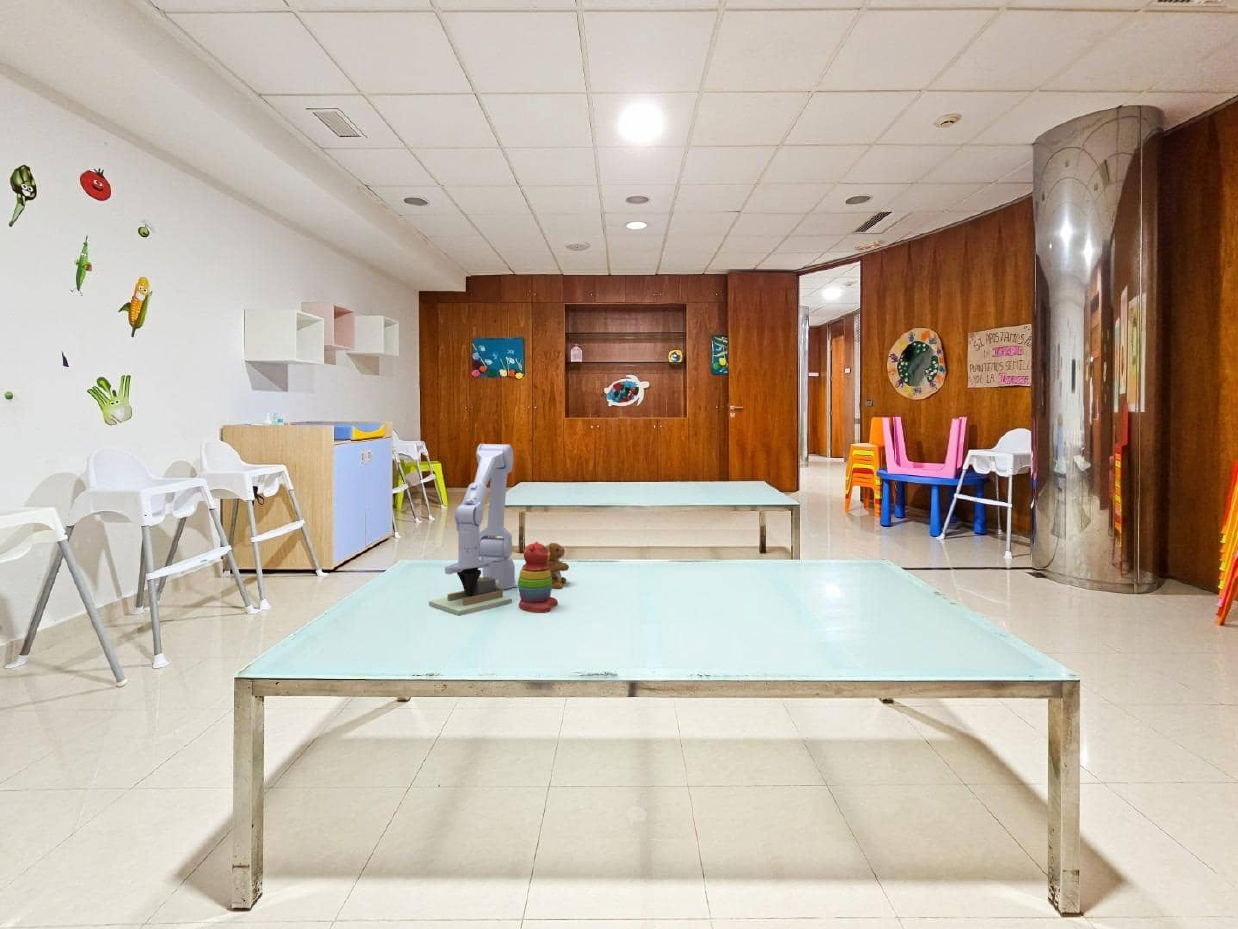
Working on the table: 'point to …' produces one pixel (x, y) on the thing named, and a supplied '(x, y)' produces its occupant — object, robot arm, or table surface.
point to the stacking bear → (536, 580)
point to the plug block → (484, 586)
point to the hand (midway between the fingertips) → (469, 595)
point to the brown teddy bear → (556, 564)
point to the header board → (471, 601)
